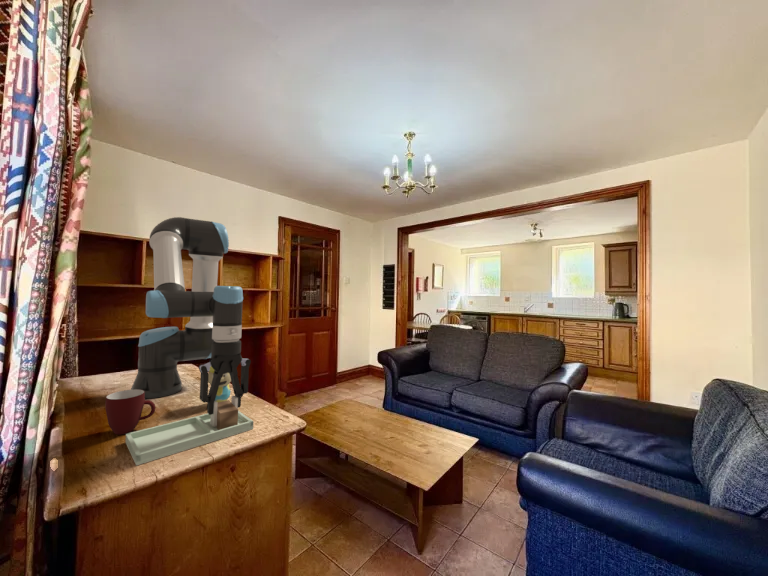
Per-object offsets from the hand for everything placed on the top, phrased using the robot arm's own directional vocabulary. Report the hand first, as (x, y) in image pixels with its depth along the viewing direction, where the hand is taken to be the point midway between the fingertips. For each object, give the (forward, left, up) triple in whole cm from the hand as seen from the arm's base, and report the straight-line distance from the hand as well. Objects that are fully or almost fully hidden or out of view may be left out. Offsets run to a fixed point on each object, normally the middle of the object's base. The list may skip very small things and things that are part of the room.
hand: (223, 421), depth 88 cm
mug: (-15, -19, -2) cm, 24 cm away
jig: (0, -8, -1) cm, 8 cm away
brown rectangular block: (0, 0, -1) cm, 1 cm away
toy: (-19, +5, -2) cm, 19 cm away
